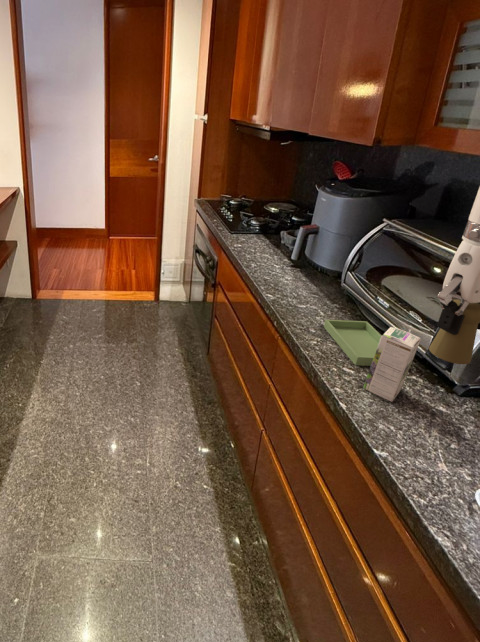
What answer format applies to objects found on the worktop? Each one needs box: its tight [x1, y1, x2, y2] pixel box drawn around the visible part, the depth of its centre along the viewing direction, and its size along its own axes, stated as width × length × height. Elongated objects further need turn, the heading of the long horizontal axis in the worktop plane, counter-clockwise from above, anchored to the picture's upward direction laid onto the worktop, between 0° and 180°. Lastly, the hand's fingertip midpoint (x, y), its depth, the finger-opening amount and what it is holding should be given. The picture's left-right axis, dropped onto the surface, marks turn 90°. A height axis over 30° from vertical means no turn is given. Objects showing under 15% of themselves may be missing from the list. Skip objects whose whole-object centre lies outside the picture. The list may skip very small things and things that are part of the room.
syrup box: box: [362, 326, 422, 403], centre depth 84 cm, size 6×6×14 cm
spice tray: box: [323, 319, 383, 367], centre depth 102 cm, size 17×11×2 cm, turn 175°
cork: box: [428, 298, 480, 365], centre depth 71 cm, size 6×6×11 cm
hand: (459, 327), depth 71 cm, fingers closed on cork, 5 cm apart
